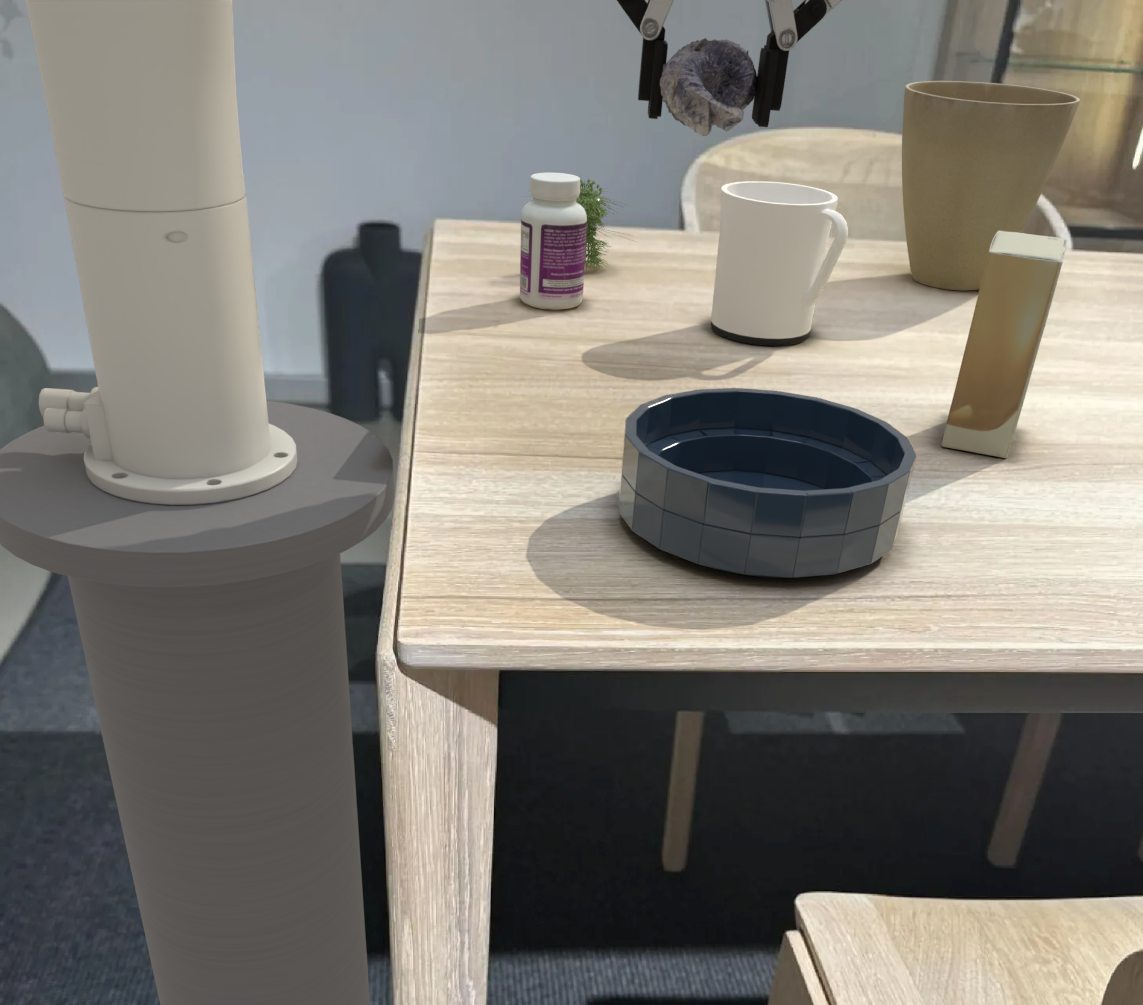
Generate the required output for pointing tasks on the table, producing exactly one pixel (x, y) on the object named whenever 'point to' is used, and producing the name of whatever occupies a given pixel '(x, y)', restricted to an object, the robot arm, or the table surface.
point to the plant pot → (973, 170)
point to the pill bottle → (553, 243)
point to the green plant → (593, 220)
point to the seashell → (709, 84)
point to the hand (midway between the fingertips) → (707, 116)
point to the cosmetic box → (1003, 341)
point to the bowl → (764, 481)
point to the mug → (773, 260)
